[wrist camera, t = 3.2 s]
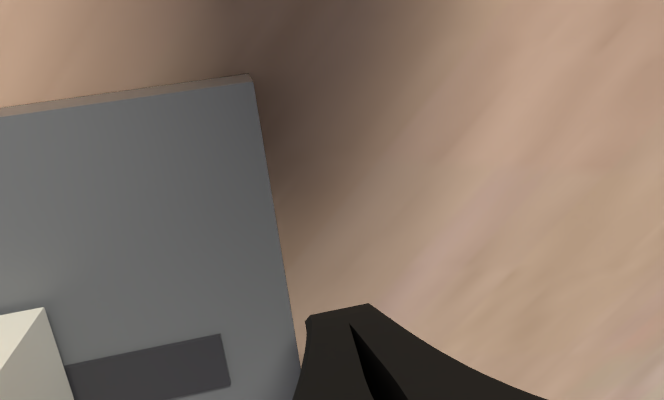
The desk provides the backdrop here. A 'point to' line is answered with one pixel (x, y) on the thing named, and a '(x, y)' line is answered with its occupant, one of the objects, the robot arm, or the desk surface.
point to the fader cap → (30, 359)
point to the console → (149, 242)
